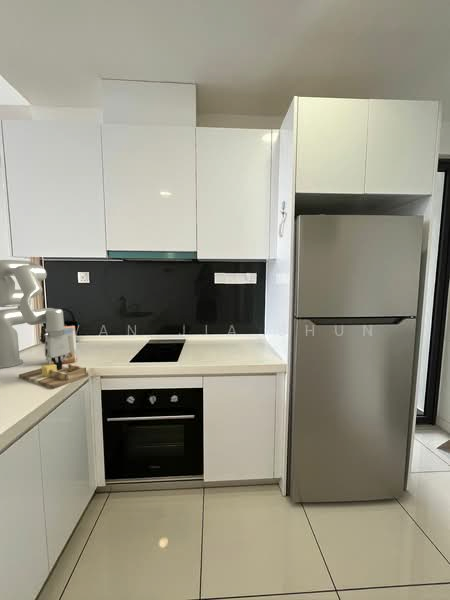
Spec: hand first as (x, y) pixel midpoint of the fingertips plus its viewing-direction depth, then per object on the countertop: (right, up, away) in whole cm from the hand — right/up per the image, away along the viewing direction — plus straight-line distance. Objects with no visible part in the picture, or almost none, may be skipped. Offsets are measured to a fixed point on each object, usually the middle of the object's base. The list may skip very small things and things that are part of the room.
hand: (58, 369), depth 136 cm
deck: (0, -3, -3) cm, 4 cm away
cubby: (+8, -2, -4) cm, 9 cm away
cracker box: (-10, -1, +19) cm, 22 cm away
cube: (-2, -2, -4) cm, 5 cm away
